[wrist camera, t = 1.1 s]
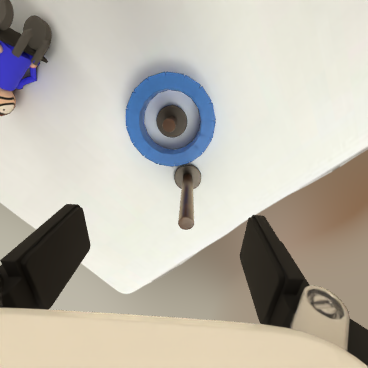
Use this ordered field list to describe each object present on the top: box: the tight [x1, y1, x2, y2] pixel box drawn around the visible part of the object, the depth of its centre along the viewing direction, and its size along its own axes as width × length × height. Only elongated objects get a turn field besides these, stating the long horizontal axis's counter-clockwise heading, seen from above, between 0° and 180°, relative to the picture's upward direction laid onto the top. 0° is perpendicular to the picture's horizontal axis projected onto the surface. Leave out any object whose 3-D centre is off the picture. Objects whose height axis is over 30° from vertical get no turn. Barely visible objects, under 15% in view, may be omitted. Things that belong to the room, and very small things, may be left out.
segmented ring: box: [126, 72, 216, 166], centre depth 29 cm, size 13×13×3 cm
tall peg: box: [174, 165, 201, 230], centre depth 28 cm, size 5×5×14 cm
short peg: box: [157, 105, 187, 137], centre depth 28 cm, size 5×5×5 cm
